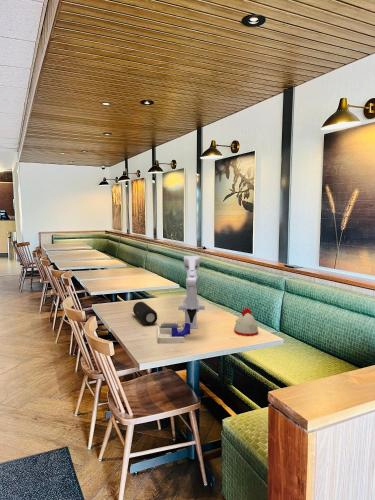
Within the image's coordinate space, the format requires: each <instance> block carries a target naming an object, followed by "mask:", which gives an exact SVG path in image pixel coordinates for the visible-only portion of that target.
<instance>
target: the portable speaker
mask: <svg viewBox="0 0 375 500" xmlns="http://www.w3.org/2000/svg"><path fill="white" fill-rule="evenodd" d="M132 312H133V314H134V315H135V316H136V317H137V318H138V319H139V320H140V321H142V322H143V324H145V325H147V326H150V325H151V326H152V325H154V324H156V323H157V320H158V313H157V311H156V310H155V309H153V308H152V307H150V306H149V305H148V304H146V303H145V302H144V301H137V302H136V303H135V304H134V305H133V308H132Z"/></svg>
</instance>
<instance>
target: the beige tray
mask: <svg viewBox="0 0 375 500" xmlns="http://www.w3.org/2000/svg"><path fill="white" fill-rule="evenodd" d="M177 330H178V332H181V331H182V330H183V328H182V325H181V324H178V328H177ZM161 335H172V328H161V325H157V344H183V343H185V337H172V336H161Z"/></svg>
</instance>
